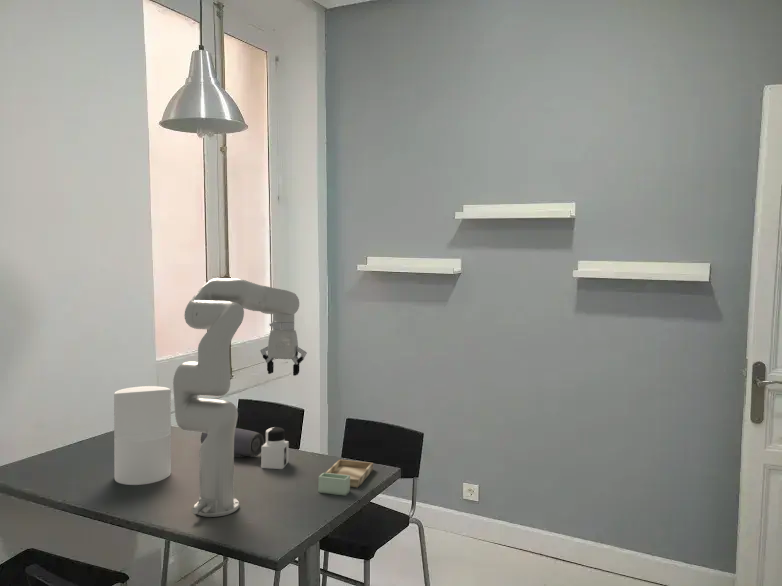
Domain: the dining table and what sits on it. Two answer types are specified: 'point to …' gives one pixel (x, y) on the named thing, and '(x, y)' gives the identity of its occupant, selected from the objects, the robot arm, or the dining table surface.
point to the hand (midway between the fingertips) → (283, 374)
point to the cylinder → (142, 435)
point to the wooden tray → (352, 470)
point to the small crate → (334, 484)
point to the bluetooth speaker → (244, 442)
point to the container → (275, 449)
